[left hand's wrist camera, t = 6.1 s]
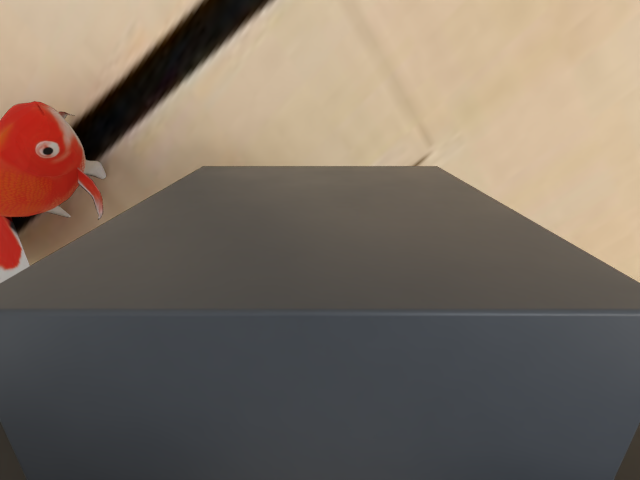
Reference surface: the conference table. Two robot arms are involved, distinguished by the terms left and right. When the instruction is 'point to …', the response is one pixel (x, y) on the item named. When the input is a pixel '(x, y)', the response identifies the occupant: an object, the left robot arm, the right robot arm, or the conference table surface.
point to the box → (320, 337)
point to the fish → (38, 173)
